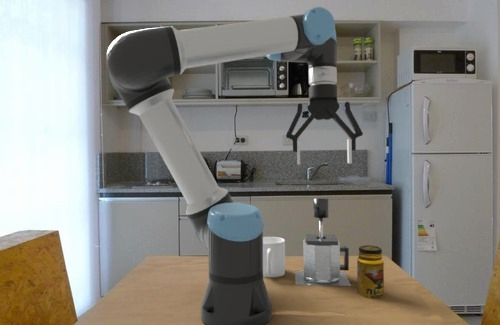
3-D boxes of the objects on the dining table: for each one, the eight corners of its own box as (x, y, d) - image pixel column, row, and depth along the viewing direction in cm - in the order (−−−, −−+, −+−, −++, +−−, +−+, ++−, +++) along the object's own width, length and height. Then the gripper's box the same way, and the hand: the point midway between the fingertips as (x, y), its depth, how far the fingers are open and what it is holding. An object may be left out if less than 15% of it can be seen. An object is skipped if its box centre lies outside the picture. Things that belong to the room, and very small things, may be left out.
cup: (285, 270, 109) (284, 236, 109) (284, 285, 97) (284, 247, 97) (257, 270, 110) (256, 236, 109) (253, 284, 98) (253, 246, 98)
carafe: (304, 283, 96) (303, 241, 95) (302, 271, 105) (302, 233, 105) (351, 284, 94) (350, 242, 94) (345, 272, 104) (345, 234, 104)
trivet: (295, 287, 95) (295, 284, 95) (295, 273, 106) (295, 271, 106) (351, 289, 94) (351, 285, 94) (344, 274, 105) (344, 272, 105)
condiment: (382, 305, 84) (381, 252, 83) (345, 298, 88) (344, 248, 88) (388, 294, 90) (387, 245, 90) (353, 288, 94) (353, 241, 94)
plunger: (308, 271, 97) (308, 199, 96) (307, 263, 104) (306, 196, 103) (336, 272, 96) (336, 200, 95) (333, 264, 103) (332, 196, 103)
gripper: (276, 84, 97) (277, 164, 98) (373, 80, 94) (374, 163, 95) (277, 89, 105) (278, 164, 105) (367, 85, 102) (368, 162, 102)
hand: (324, 163), depth 100 cm, fingers open, 13 cm apart
